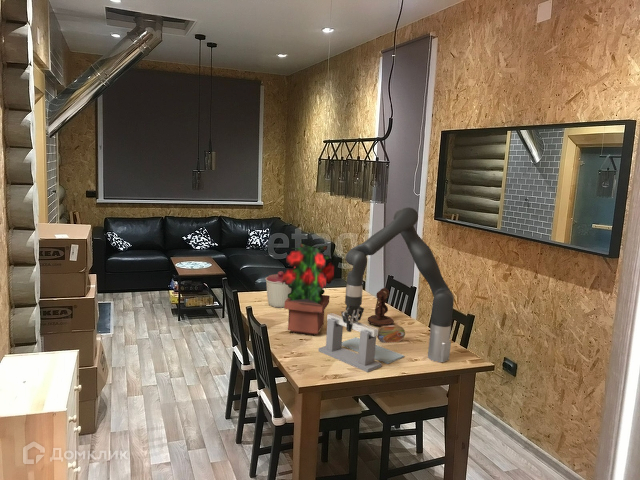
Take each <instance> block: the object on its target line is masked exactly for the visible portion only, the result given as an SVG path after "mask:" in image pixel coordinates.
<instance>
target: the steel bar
mask: <svg viewBox="0 0 640 480" xmlns="http://www.w3.org/2000/svg"><path fill="white" fill-rule="evenodd" d="M326 316H327V317H326V321H328V319H329V318H330V319H332V320H335V321H336V324H339V325H342V326H343V327H345V328H346V327H347V323H344V322H343V318H342V315H338V314H336V313H333V312H330V313H327V315H326ZM349 321H350V319H349ZM352 329H353V330H352ZM378 329H379V328H376V327H373V326H371V325H367V324H365V323H362V322H359V321H358V322H357V321H354V320H352V326H351V330H352V331H357V332H359V333H360V331H362V330H363V331H365V332H368V333H369V335H370V336H372V337H375V336H376V337H377V336H378Z"/></svg>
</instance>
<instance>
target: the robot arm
mask: <svg viewBox="0 0 640 480" xmlns="http://www.w3.org/2000/svg"><path fill="white" fill-rule="evenodd" d="M418 220H419V213H418V212H417V210H416V209H415V208H413V207H404V208H402V209H401V208H400V209H399V210H397V211H395V213H394V215H393V221H391V222H390V223H389V224H387V225H386V226H384V227H383V228H381V229H380V230H378V231H377V232H375V233H374V234H372V235H371V236H370V237H369V238H368V239H366V240H365V241H364V242H362V243H359V244H358V245H356V246H354V247H352V248H351V249H349V250H348V251H347V253H346V255H345V261H346V263H347V264H348V265H351V266H352V270H350V271H348V273H347V278H346V287H345V296H344V297H345V299H344V300H345V301H344V304H345V305H346V306H345V310H344V311H340V312H341V316H342V318H343V322H344V323H347V327H345V328H346V332H349V333H351V332H352V331H354V330H353V329H351V326H352V320H354V321H357V322H359V321H361V319H362V316H363V313H364V310H365V307H362V304H363V303H362V302H363V291H364V290H363V281H364V278H363V277H364V274H365V271H366V269H367V263H368V257H367V256H372V255H375V254H377V252H379V251H380V250H381V249H382V248H383V247H385V246H386V245H387V244H388V243H389V242H390V241H392V240H393V239H395V237H397V236H398V235H401V236H402V239H403V240H404V242H405V244H406V246H407V248H408V250H409V253H410V255H411V257H412V260H413V261H414V263H415V266H416V268H417V270H418V272H419V273H420V274H421V276H422V277H423V278H424V279H425V280H426V282H427V284H428V286H429V288H430V290H431V293H432V297H433V300H432V304H431V305H432V307H431V315H430V316H431V317H430V329H429V337H428V338H429V340H428V351H427V359H429V360H430V361H432V360H433V361H432V362H435V361H438V362H437V363H441V362H443V363H446V362H448V361H449V360H450V355H451V346H452V341H451V340H450V338H451V330H452V322H453V321H452V320H453V312H454V302H455V298H454V293H452V291H451V289H450V288H449V286H448V284H447V282H446V281H445V279H444V277H443V275H442V272H441V269H440V267H439V265H438V262H437V260H436V258H435V256H434V253H433V252H432V251H433V250H431V248H430V246H428V244H427V243H426V242H425V241H424V240H423V239H422V238H421V237H420V235H419V233H418V232H417V230H416V228H415V225H416V224H417V222H418ZM349 319H350V321H349ZM447 360H448V361H447ZM445 361H446V362H445Z"/></svg>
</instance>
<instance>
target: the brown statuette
mask: <svg viewBox="0 0 640 480" xmlns="http://www.w3.org/2000/svg"><path fill="white" fill-rule="evenodd" d="M375 296H376V298H377V299H376V303H375V309H374V314H373V315H369V316H368V317H367V322H368V323H369V326H371V325H375V326H380V327H381V326H392V325H394V324H395V320H394V319H393V318H392V317H390V316H388V315H385V314H387V313H388V312H389V309H388V306H387V304H386V302H387V299H388V297H389V296H390V291H389V289H388V288H386V287H382V288H380V290H379V291H377V292H376V295H375Z"/></svg>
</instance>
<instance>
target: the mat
mask: <svg viewBox="0 0 640 480" xmlns="http://www.w3.org/2000/svg"><path fill="white" fill-rule="evenodd" d="M359 344H360V337H356V336H355V337H353V338H350V339H347V340H344V341H343V340H342V346H341V347H343V348H346V349H348V350H351V351H353V352H356V353H359ZM403 358H405V354H402V353H399V352H396V351H393V350H391V349H388V348H385V347H383V346H380V345H378V344H376V347H375V359H374V360H375V361H378V362H379V361H380V363H381V362H382V363H384V364H386V365H388V364H391V363H394V362H395V361H398V359H399V360H401V359H403Z"/></svg>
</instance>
